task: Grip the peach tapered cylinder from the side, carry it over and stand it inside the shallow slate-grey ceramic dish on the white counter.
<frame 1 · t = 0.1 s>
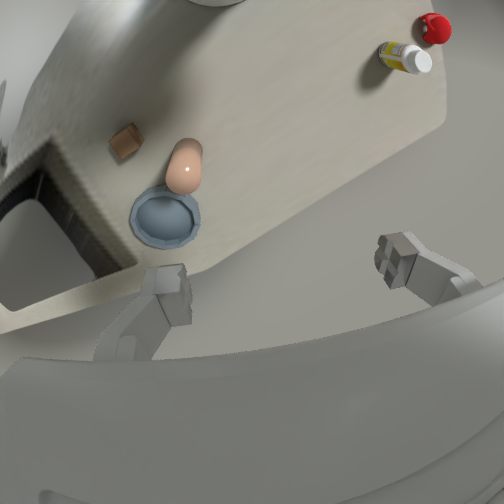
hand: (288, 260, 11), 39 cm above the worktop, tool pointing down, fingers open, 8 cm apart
walnut block: (129, 136, 41), on the worktop
dish: (165, 215, 53), on the worktop
supplement bottle: (388, 54, 35), on the worktop
peach tapered cylinder: (188, 151, 45), on the worktop
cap: (427, 27, 29), on the worktop
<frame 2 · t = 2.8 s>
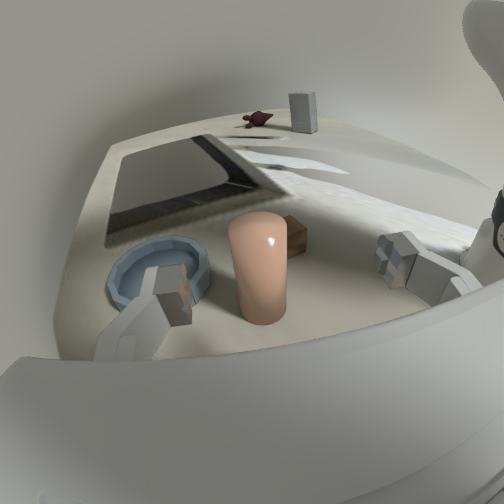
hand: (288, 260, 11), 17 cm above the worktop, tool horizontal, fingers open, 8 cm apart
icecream: (259, 126, 106), on the worktop
walnut block: (286, 249, 39), on the worktop
dish: (160, 280, 36), on the worktop
peach tapered cylinder: (263, 307, 31), on the worktop
skincare box: (304, 131, 94), on the worktop
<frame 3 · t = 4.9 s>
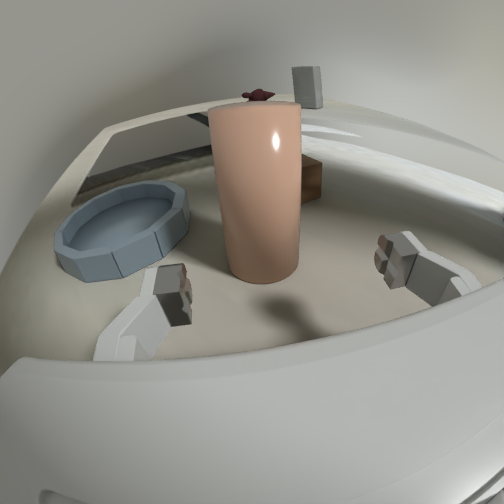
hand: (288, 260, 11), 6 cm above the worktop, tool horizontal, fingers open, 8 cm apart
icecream: (260, 104, 96), on the worktop
walnut block: (294, 195, 28), on the worktop
dish: (123, 232, 25), on the worktop
peach tapered cylinder: (263, 259, 20), on the worktop
skincare box: (308, 108, 83), on the worktop
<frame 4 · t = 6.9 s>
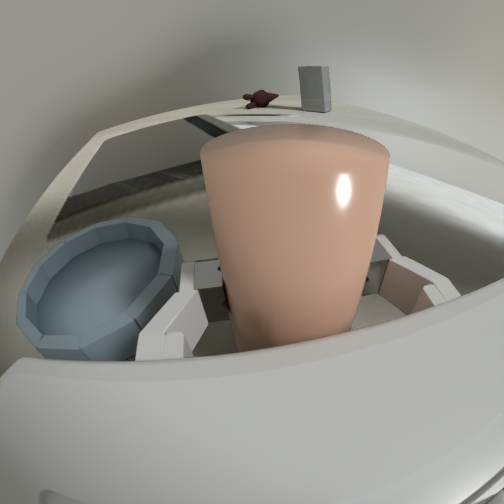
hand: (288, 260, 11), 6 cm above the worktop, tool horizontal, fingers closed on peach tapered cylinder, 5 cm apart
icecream: (262, 107, 89), on the worktop
dish: (100, 293, 18), on the worktop
peach tapered cylinder: (289, 357, 14), on the worktop, touching gripper
skincare box: (315, 111, 77), on the worktop
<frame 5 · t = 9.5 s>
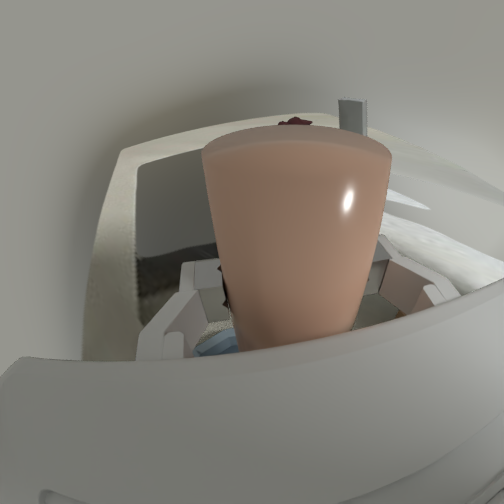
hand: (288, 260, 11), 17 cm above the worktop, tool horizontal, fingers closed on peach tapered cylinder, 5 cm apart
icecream: (296, 134, 92), on the worktop
dish: (254, 399, 22), on the worktop
peach tapered cylinder: (290, 357, 14), point 11 cm above the worktop, touching gripper
skincare box: (352, 144, 80), on the worktop
when the fingers open (8 cm above the worktop, at t = 12.0 s): peach tapered cylinder stays where it is, resting on dish.
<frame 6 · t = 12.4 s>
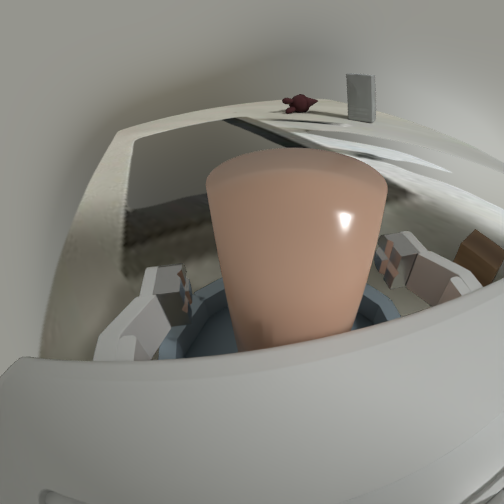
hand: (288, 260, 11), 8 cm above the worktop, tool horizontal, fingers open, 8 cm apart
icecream: (301, 112, 84), on the worktop
walnut block: (468, 283, 18), on the worktop
dish: (288, 370, 15), on the worktop
peach tapered cylinder: (288, 365, 14), point 1 cm above the worktop, touching dish
skincare box: (361, 120, 73), on the worktop
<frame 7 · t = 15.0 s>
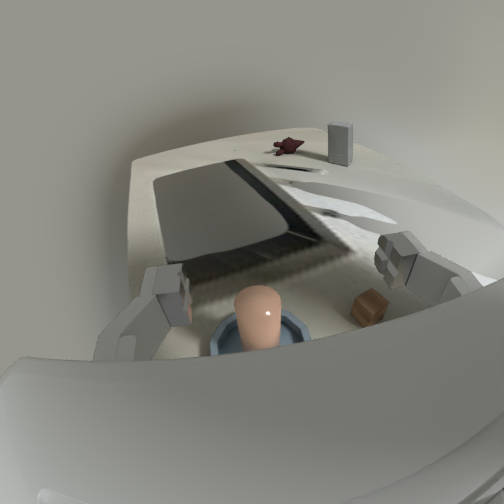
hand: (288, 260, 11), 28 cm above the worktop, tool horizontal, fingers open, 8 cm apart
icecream: (289, 153, 106), on the worktop
walnut block: (366, 316, 41), on the worktop
dish: (261, 354, 37), on the worktop
peach tapered cylinder: (261, 351, 37), point 1 cm above the worktop, touching dish
skincare box: (339, 163, 96), on the worktop
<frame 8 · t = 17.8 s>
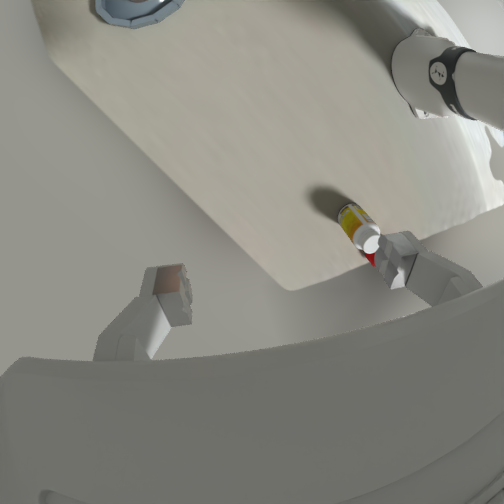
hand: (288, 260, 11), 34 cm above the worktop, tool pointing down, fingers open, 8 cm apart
supplement bottle: (349, 214, 51), on the worktop
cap: (377, 248, 58), on the worktop
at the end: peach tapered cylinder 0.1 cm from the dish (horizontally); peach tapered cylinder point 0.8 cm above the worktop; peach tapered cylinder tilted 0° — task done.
